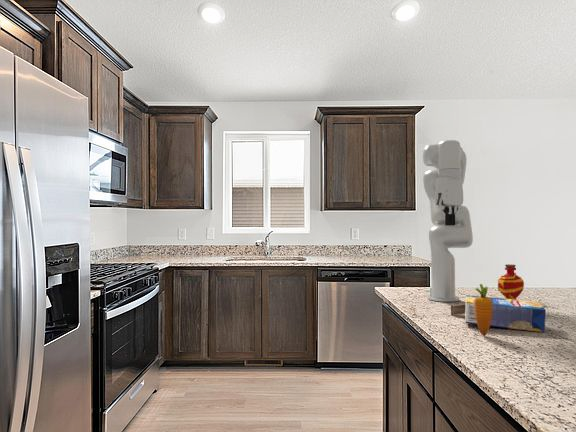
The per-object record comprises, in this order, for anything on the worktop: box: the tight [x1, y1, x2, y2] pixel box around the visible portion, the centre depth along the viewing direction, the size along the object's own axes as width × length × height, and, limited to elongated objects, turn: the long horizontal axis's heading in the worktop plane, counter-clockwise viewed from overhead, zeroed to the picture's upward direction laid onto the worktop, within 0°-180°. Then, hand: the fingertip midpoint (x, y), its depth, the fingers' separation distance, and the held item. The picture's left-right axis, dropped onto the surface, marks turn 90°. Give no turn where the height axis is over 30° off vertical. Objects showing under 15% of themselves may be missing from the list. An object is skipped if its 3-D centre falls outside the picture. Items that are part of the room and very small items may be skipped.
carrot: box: [474, 283, 493, 337], centre depth 128 cm, size 5×5×15 cm
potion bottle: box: [497, 263, 525, 300], centre depth 184 cm, size 10×10×15 cm
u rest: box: [450, 302, 466, 319], centre depth 153 cm, size 17×16×4 cm
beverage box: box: [464, 294, 546, 333], centre depth 140 cm, size 7×11×22 cm
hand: (450, 225), depth 159 cm, fingers closed
